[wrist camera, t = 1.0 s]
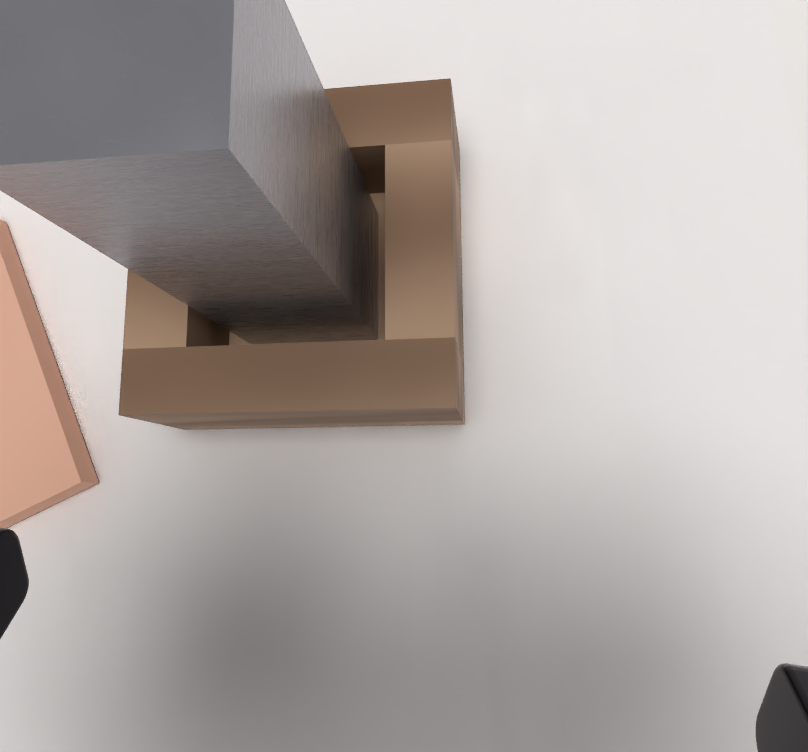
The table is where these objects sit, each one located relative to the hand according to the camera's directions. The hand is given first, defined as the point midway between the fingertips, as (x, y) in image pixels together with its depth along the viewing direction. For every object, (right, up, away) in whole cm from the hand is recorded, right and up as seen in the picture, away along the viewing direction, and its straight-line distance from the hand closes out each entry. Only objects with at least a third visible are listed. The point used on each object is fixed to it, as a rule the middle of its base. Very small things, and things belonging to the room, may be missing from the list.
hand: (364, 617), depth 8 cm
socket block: (-2, +6, +15) cm, 16 cm away
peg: (-2, +6, +14) cm, 15 cm away
